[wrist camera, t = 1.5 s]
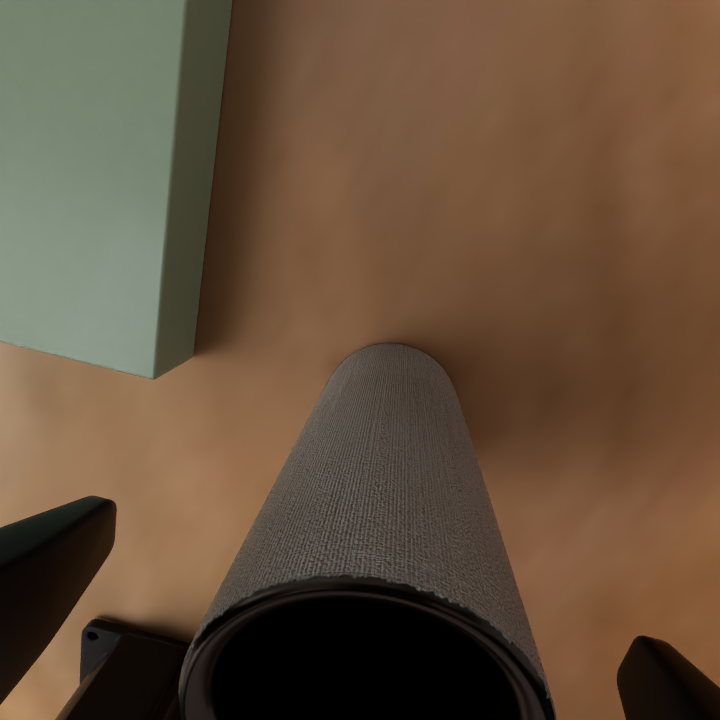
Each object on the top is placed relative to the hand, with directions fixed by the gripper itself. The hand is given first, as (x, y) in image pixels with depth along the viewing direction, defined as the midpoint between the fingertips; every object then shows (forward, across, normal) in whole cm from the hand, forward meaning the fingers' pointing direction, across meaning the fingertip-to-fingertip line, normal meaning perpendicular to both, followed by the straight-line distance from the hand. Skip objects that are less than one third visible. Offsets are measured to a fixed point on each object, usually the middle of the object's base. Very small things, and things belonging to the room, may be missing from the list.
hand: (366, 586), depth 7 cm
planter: (+8, 0, 0) cm, 8 cm away
